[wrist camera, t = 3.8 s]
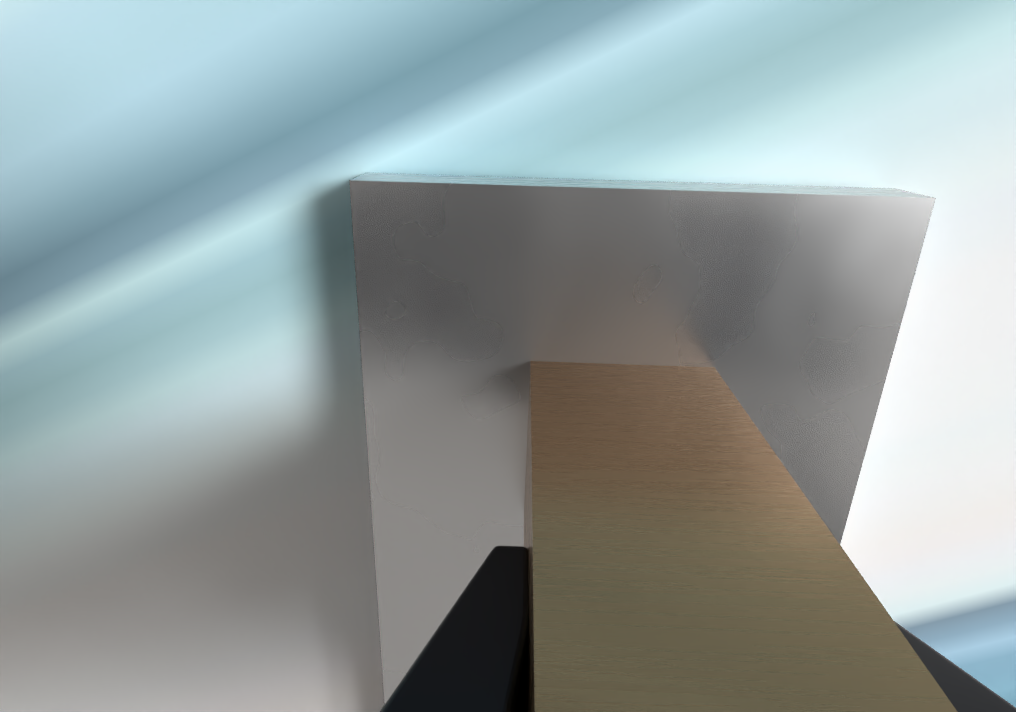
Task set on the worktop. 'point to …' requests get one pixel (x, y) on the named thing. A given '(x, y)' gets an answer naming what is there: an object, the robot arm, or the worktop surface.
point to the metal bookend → (637, 430)
